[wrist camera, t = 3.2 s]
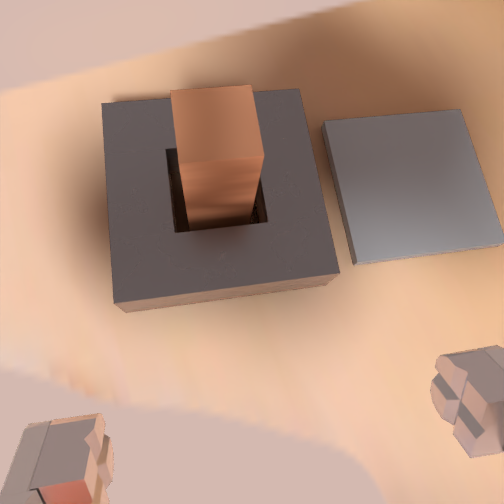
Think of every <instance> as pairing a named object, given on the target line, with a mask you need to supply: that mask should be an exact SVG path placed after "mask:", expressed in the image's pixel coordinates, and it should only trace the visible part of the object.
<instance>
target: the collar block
mask: <svg viewBox="0 0 504 504" xmlns="http://www.w3.org/2000/svg"><path fill="white" fill-rule="evenodd" d="M253 96H254V102H255V107H256V113H257V118H258V123H259V129H260V134H261V140H262V145H263V151H264V160H263V164H262V169H261V173H260V178H259V182H258V187H257V191H256V196H255V198H256V204H257V210H258V216H259V221H260V223H258V224H250V225H241V226H232V227H224V228H215V229H206V230H198V231H189V232H181V233H177V227H176V218H175V209H174V200H173V191H172V182H171V173H180V168H179V162H178V153H177V145H176V136H175V128H174V119H173V111H172V102H171V98H167V99H154V100H140V101H127V102H113V103H101V104H102V120H103V136H104V153H105V169H106V185H107V201H108V217H109V233H110V249H111V266H112V282H113V298H114V304H115V305H116V306H118V307H119V308H120V309H122V310H123V311H124V312H126V313H128V312H135V311H142V310H149V309H157V308H164V307H171V306H178V305H186V304H193V303H200V302H207V301H215V300H222V299H229V298H236V297H244V296H251V295H258V294H265V293H273V292H280V291H287V290H294V289H302V288H309V287H316V286H323V285H327V284H328V283H329V282H330V281H331V280H333V279H334V278H335V277H336V276H337V275H338V274H340V271H339V266H338V262H337V257H336V253H335V248H334V244H333V239H332V235H331V230H330V226H329V221H328V217H327V212H326V208H325V203H324V199H323V194H322V190H321V185H320V181H319V176H318V172H317V167H316V163H315V158H314V154H313V149H312V145H311V140H310V136H309V131H308V127H307V122H306V118H305V113H304V109H303V104H302V100H301V95H300V91H299V89H288V90H274V91H261V92H253Z"/></svg>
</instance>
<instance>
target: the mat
mask: <svg viewBox="0 0 504 504" xmlns="http://www.w3.org/2000/svg"><path fill="white" fill-rule="evenodd" d="M321 129H322V133H323V137H324V141H325V146H326V150H327V154H328V159H329V163H330V167H331V172H332V176H333V180H334V184H335V189H336V193H337V197H338V202H339V206H340V210H341V215H342V219H343V223H344V227H345V232H346V236H347V240H348V245H349V249H350V253H351V258H352V262H353V265H360V264H368V263H375V262H383V261H390V260H398V259H405V258H413V257H420V256H428V255H435V254H443V253H451V252H458V251H466V250H473V249H481V248H488V247H496V246H500V245H502V244H504V234H503V231H502V228H501V225H500V222H499V219H498V216H497V214H496V211H495V208H494V205H493V202H492V199H491V196H490V193H489V190H488V188H487V185H486V182H485V179H484V176H483V173H482V170H481V167H480V164H479V162H478V159H477V156H476V153H475V150H474V147H473V144H472V141H471V138H470V136H469V133H468V130H467V127H466V124H465V121H464V118H463V115H462V112H461V110H460V109H456V110H444V111H432V112H420V113H409V114H397V115H385V116H374V117H362V118H350V119H338V120H327V121H324V122H323V125H322V127H321Z"/></svg>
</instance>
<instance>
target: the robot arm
mask: <svg viewBox="0 0 504 504" xmlns="http://www.w3.org/2000/svg"><path fill="white" fill-rule="evenodd" d="M435 368H436V369H437V371H438V372H439V373H438V374H437V376H436V377H435V378H434V379H433V380H432V383H431V390H430V391H431V396H432V401H433V404H434V406H435V408H436V410H437V412H438V413H439V415H440V416H441V418H442V419H444V420H446V421H447V422H449V423H451V424H452V425H453V435H454V436H455V437H456V439H457V440H458V442H459V443H460V444H461V446H462V447H463V449H464V450H465V451H466V453H467V454H468V456H469V457H470V458H474V457H480V456H486V455H492V454H497V453H503V452H504V348H502V347H500V346H498V345H495V346H490V347H484V348H478V349H472V350H466V351H461V352H455V353H450V354H444V355H440V356H439V357H438V359H437V360H436V364H435ZM104 430H105V421H104V419H103V416H102V414H100V413H97V414H91V415H84V416H77V417H71V418H63V419H56V420H51V421H45V422H38V423H31V424H29V425H28V426H27V427H26V428H25V430H24V431H23V434H22V436H21V439H20V442H19V444H18V447H17V450H16V453H15V455H14V458H13V461H12V463H11V466H10V469H9V471H8V474H7V477H6V479H5V482H4V485H3V487H2V490H1V493H0V504H109V498H108V495H107V492H106V489H107V487H108V486H109V485H110V483H111V482H112V478H113V470H114V469H113V468H114V459H113V458H114V457H113V448H112V443H111V440H110V437H108V436H107V435H105V434H104Z"/></svg>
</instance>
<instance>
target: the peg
mask: <svg viewBox="0 0 504 504" xmlns="http://www.w3.org/2000/svg"><path fill="white" fill-rule="evenodd" d="M170 94H171V102H172V111H173V119H174V128H175V136H176V145H177V153H178V162H179V168H180V174H181V181H182V187H183V193H184V199H185V205H186V211H187V217H188V223H189V229H190V231H198V230H206V229H215V228H224V227H232V226H241V225H249V223H250V218H251V214H252V209H253V205H254V200H255V196H256V191H257V187H258V182H259V178H260V173H261V169H262V164H263V160H264V151H263V145H262V140H261V134H260V129H259V123H258V118H257V113H256V107H255V102H254V96H253V91H252V85H239V86H225V87H212V88H198V89H184V90H170Z"/></svg>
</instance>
